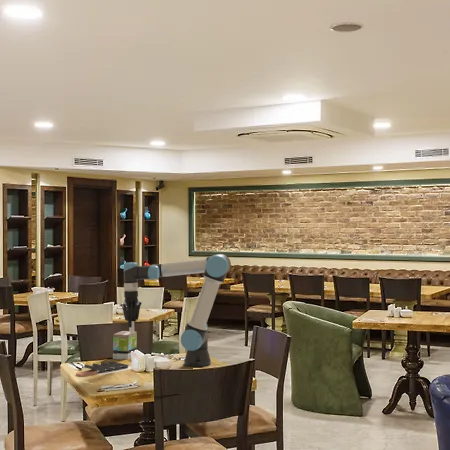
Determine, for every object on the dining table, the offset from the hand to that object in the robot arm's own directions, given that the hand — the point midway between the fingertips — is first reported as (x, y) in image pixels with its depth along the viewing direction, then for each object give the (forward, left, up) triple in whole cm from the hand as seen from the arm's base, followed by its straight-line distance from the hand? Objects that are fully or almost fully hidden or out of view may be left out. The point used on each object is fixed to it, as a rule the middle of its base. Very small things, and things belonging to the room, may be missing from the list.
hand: (131, 333), depth 385 cm
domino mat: (0, +13, -19) cm, 23 cm away
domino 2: (0, +20, -18) cm, 26 cm away
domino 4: (0, +9, -18) cm, 20 cm away
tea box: (+26, -15, -19) cm, 36 cm away
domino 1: (0, +24, -18) cm, 30 cm away
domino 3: (0, +15, -18) cm, 23 cm away
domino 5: (0, +4, -18) cm, 18 cm away
